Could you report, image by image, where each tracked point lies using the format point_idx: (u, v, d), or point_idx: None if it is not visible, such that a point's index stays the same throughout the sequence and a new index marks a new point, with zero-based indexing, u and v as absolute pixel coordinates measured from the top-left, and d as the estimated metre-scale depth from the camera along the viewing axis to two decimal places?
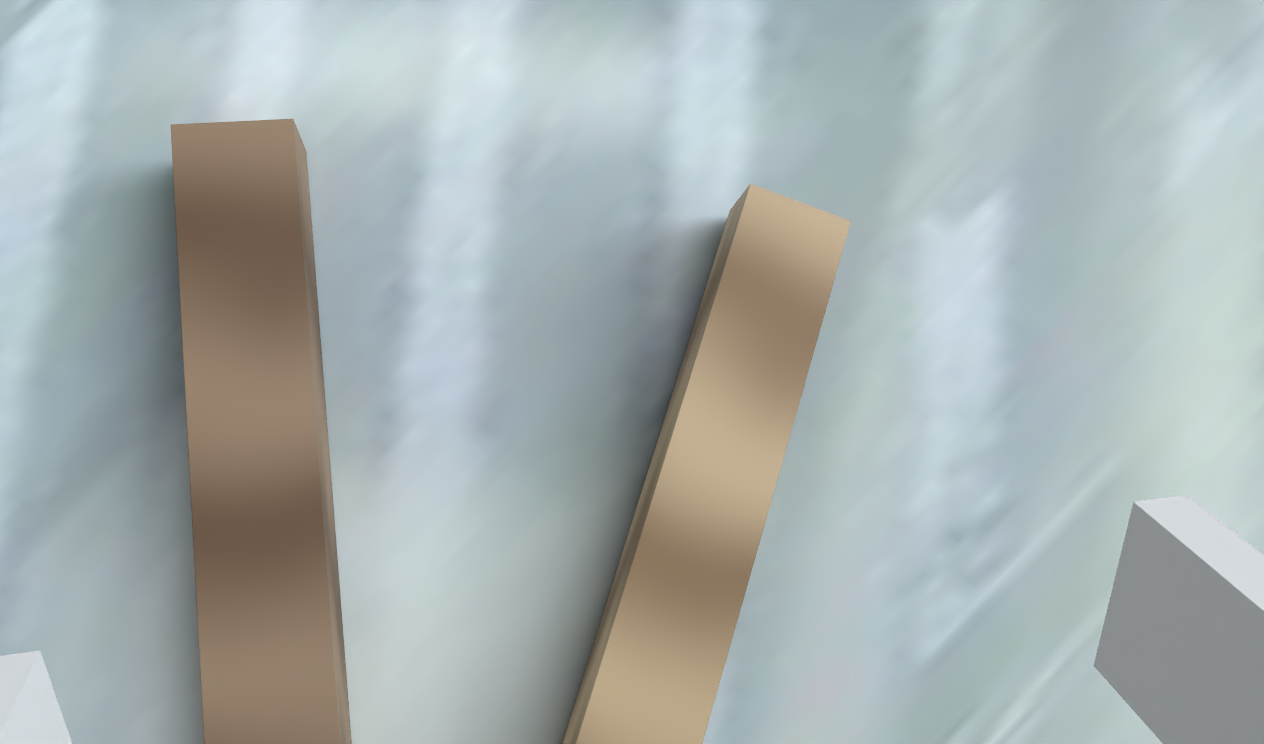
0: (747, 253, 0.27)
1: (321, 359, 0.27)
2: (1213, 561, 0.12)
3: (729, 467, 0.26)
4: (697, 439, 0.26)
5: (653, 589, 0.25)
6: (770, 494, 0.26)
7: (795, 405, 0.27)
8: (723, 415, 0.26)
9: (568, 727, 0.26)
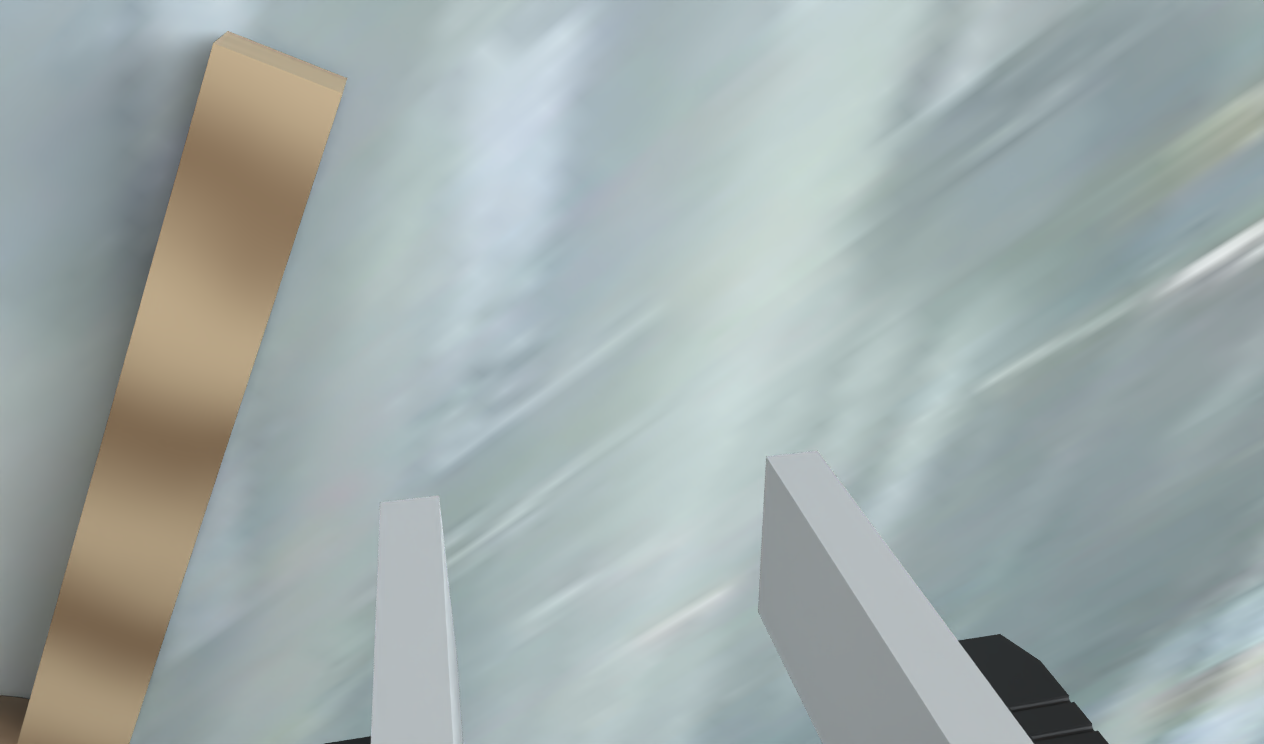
0: (212, 129, 0.24)
1: None
2: (805, 506, 0.13)
3: (202, 352, 0.26)
4: (164, 325, 0.26)
5: (128, 455, 0.27)
6: (247, 375, 0.27)
7: (273, 293, 0.26)
8: (192, 302, 0.26)
9: None
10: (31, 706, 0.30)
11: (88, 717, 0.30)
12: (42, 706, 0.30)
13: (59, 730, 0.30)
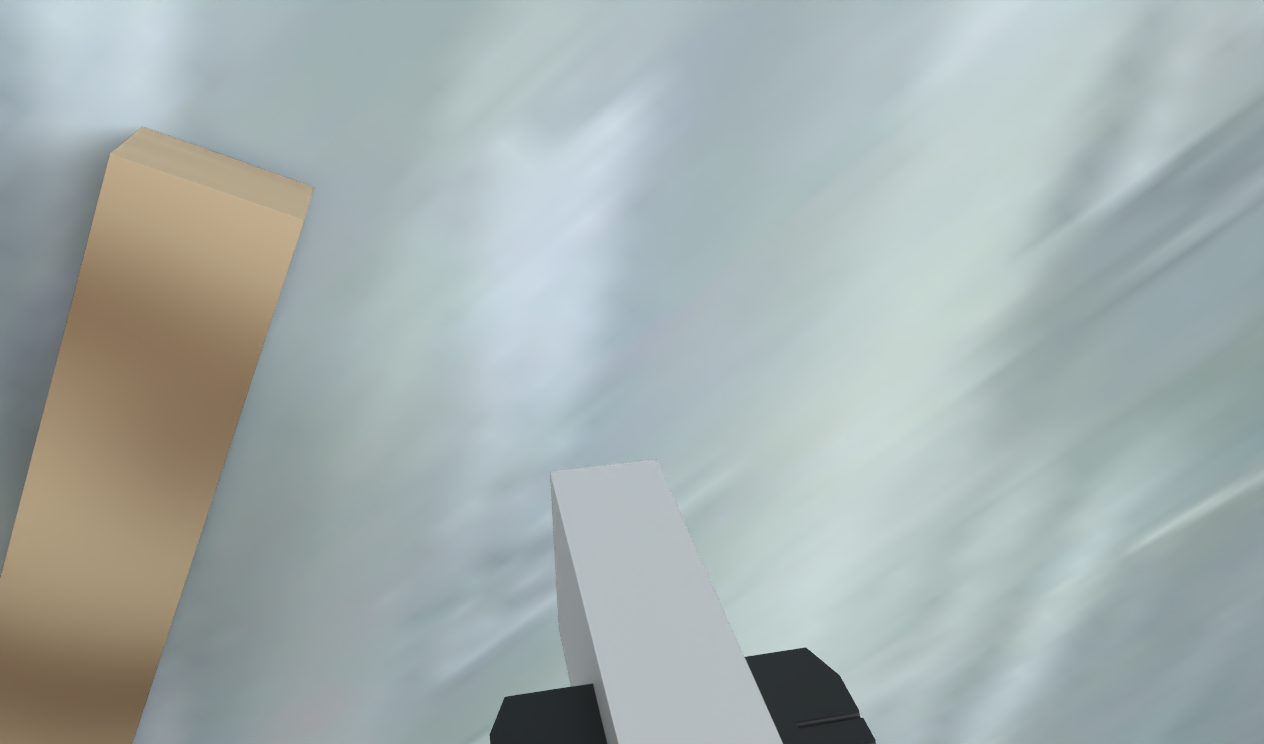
0: (113, 275, 0.16)
1: None
2: (628, 517, 0.13)
3: (109, 573, 0.18)
4: (53, 541, 0.18)
5: (9, 711, 0.19)
6: (175, 601, 0.19)
7: (209, 493, 0.18)
8: (92, 510, 0.18)
9: None
10: None
11: None
12: None
13: None
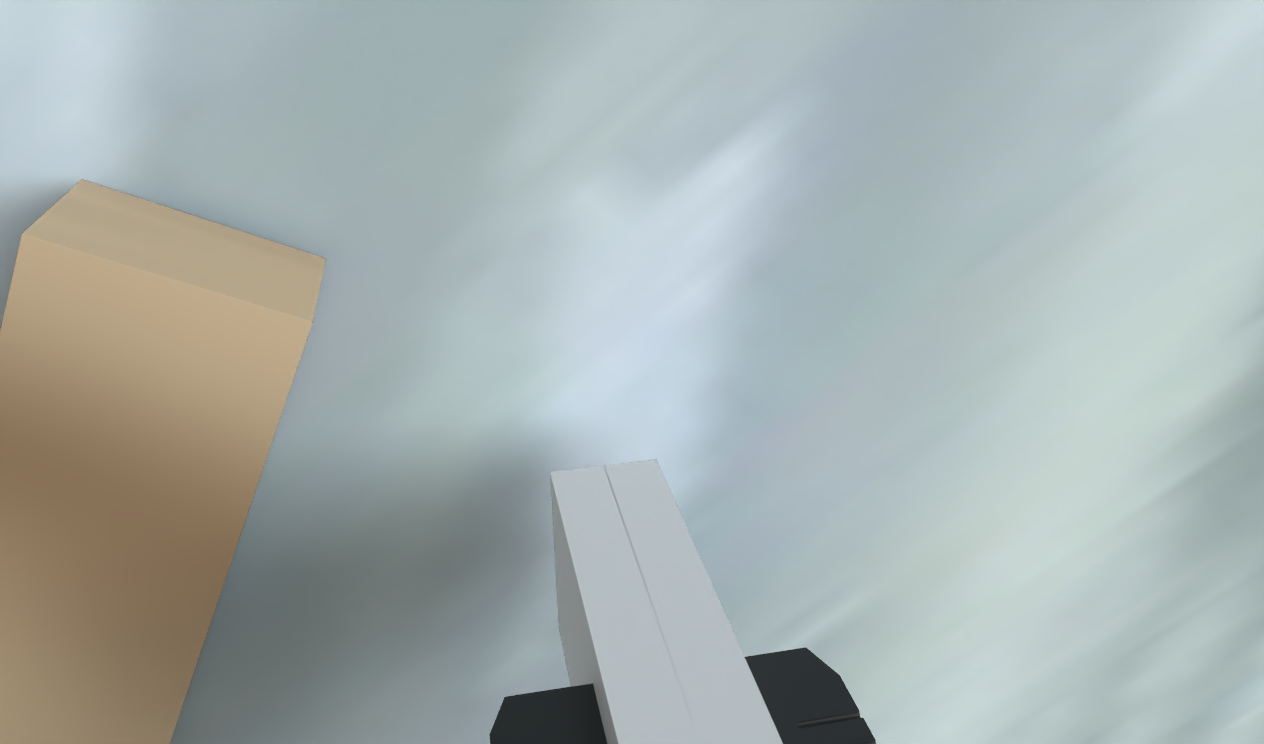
0: (35, 405, 0.11)
1: None
2: (628, 517, 0.13)
3: None
4: None
5: None
6: None
7: (182, 686, 0.13)
8: (19, 715, 0.13)
9: None
10: None
11: None
12: None
13: None
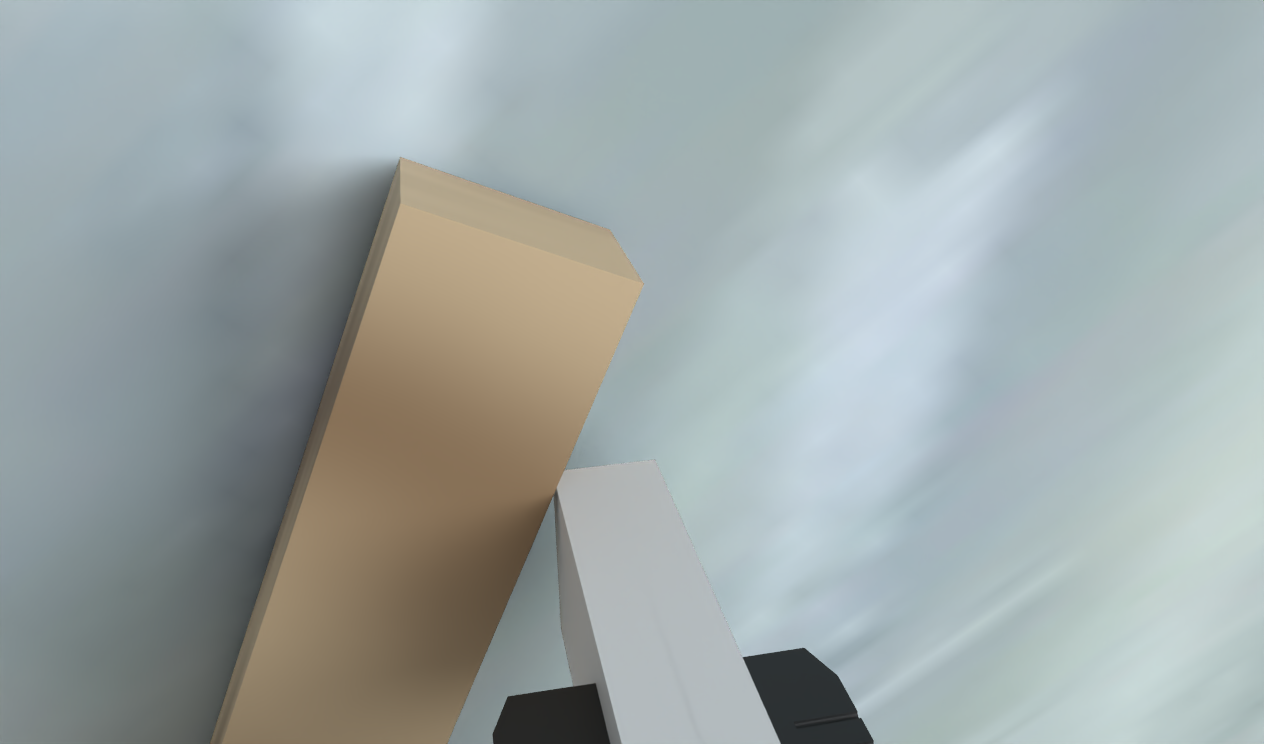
0: (391, 366, 0.12)
1: None
2: (627, 517, 0.13)
3: (354, 741, 0.14)
4: (288, 705, 0.14)
5: None
6: None
7: (486, 636, 0.14)
8: (340, 665, 0.14)
9: None
10: None
11: None
12: None
13: None
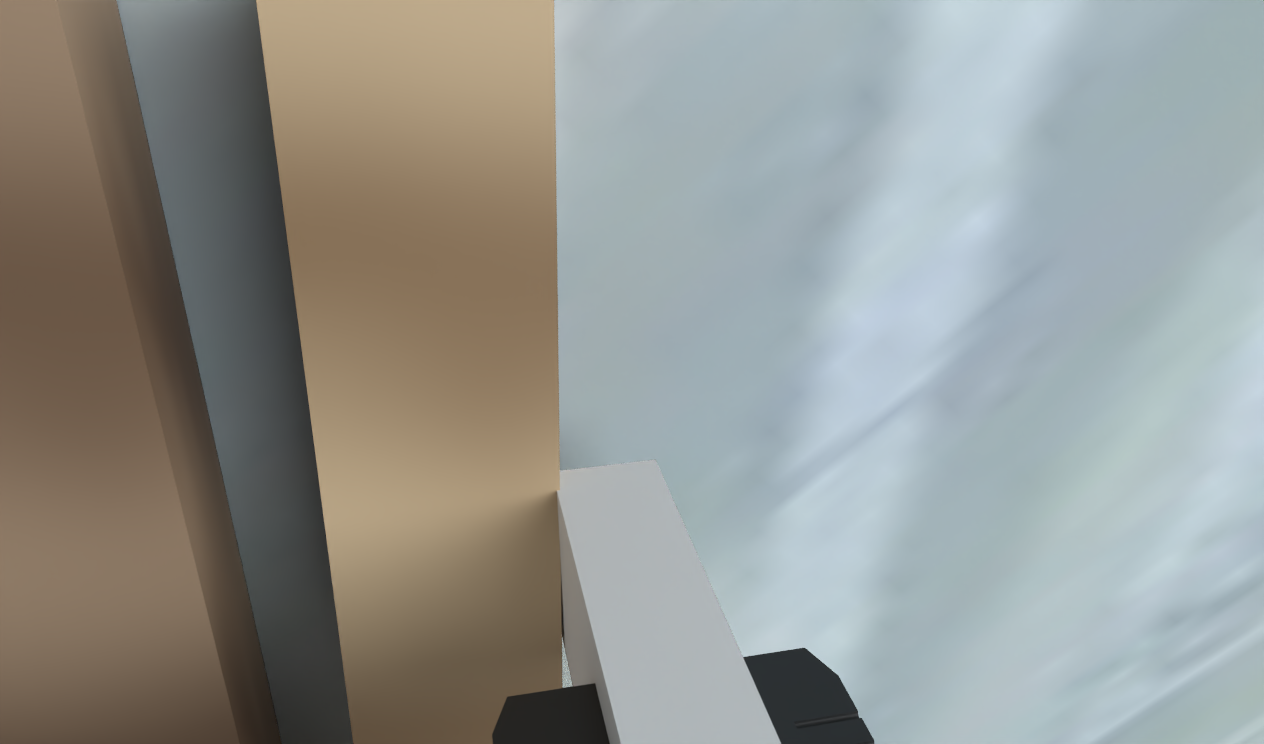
0: (325, 168, 0.11)
1: (207, 417, 0.14)
2: (628, 517, 0.13)
3: (465, 586, 0.14)
4: (384, 567, 0.13)
5: None
6: (556, 594, 0.14)
7: (553, 437, 0.13)
8: (417, 511, 0.13)
9: None
10: None
11: None
12: None
13: None
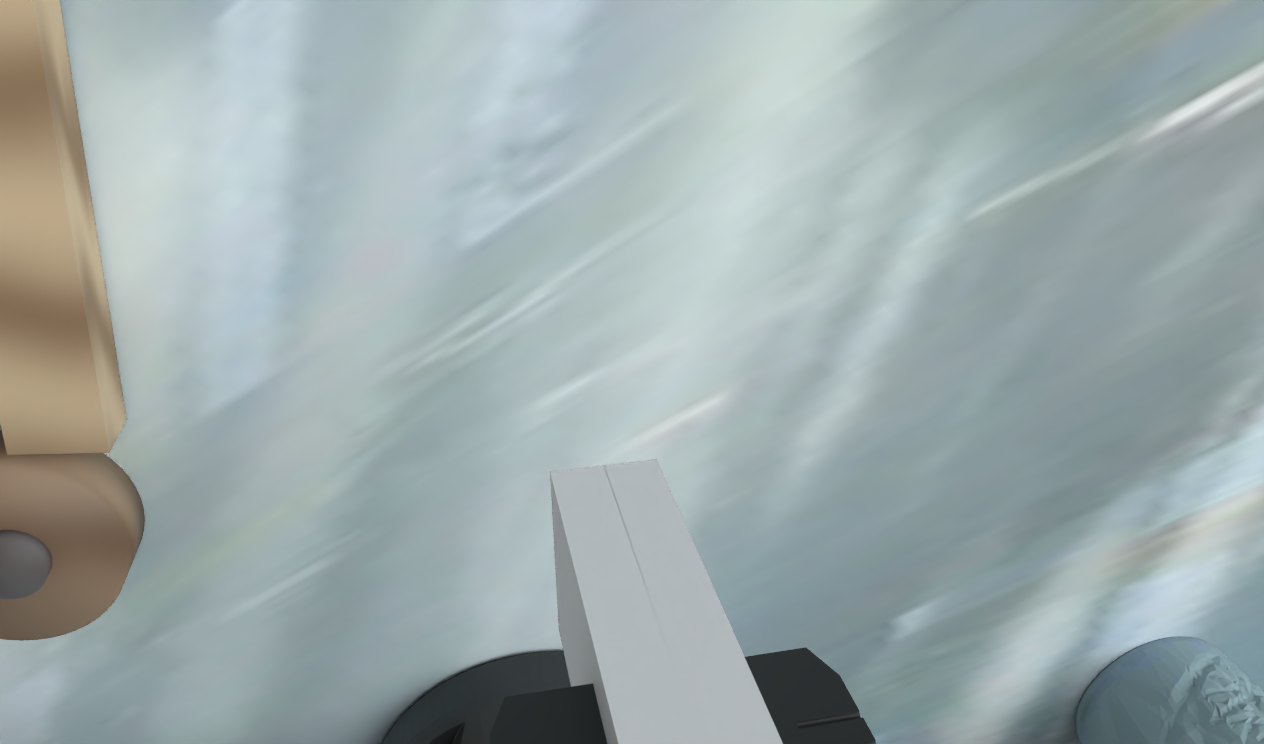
0: None
1: None
2: (629, 517, 0.13)
3: None
4: None
5: None
6: None
7: None
8: None
9: None
10: (0, 409, 0.31)
11: (56, 409, 0.32)
12: (10, 406, 0.31)
13: (36, 429, 0.32)
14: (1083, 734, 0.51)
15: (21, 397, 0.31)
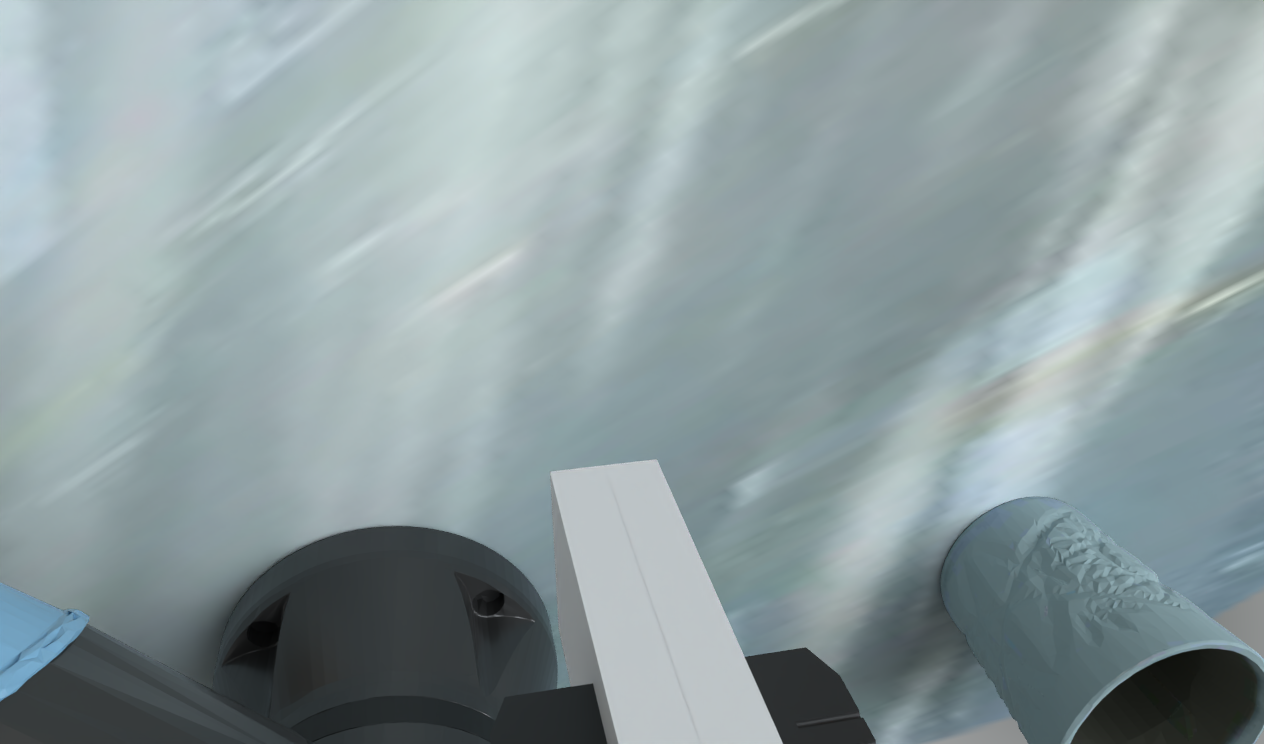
0: None
1: None
2: (628, 517, 0.13)
3: None
4: None
5: None
6: None
7: None
8: None
9: None
10: None
11: None
12: None
13: None
14: (946, 601, 0.51)
15: None
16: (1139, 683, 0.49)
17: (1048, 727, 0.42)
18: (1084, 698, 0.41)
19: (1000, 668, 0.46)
